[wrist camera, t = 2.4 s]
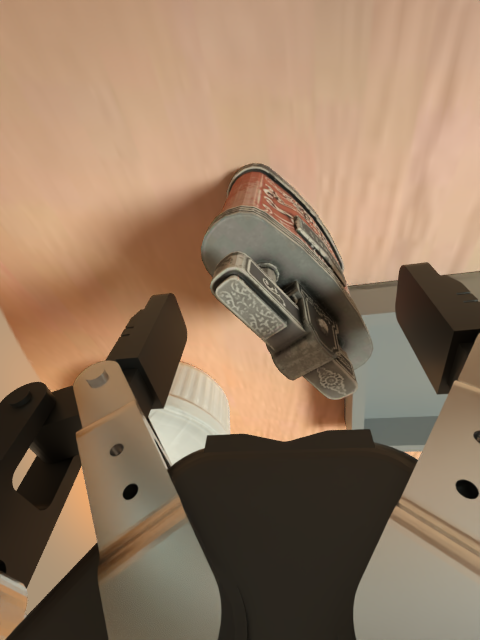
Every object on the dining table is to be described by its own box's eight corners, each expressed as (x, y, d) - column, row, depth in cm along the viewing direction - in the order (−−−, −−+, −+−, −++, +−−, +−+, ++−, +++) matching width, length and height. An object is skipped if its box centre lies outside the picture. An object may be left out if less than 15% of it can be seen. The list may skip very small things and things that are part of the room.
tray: (625, 254, 16) (686, 284, 14) (537, 412, 24) (566, 448, 21) (345, 286, 19) (354, 316, 16) (344, 419, 26) (351, 452, 24)
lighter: (355, 262, 18) (418, 404, 10) (306, 294, 19) (327, 440, 12) (262, 145, 15) (246, 215, 7) (214, 195, 16) (155, 299, 8)
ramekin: (97, 337, 24) (59, 392, 19) (245, 356, 23) (238, 416, 19) (119, 424, 30) (93, 479, 26) (233, 440, 30) (226, 498, 26)
